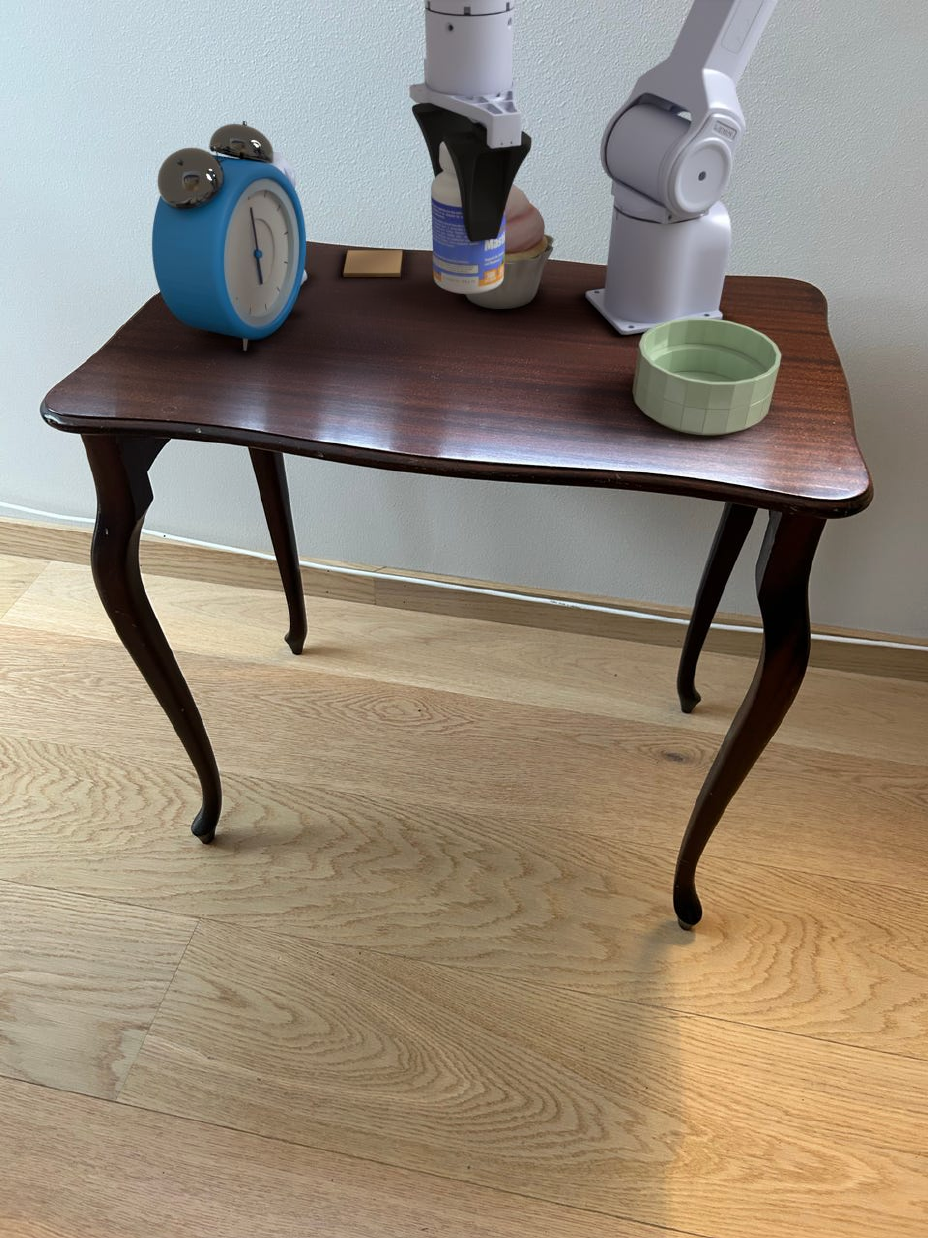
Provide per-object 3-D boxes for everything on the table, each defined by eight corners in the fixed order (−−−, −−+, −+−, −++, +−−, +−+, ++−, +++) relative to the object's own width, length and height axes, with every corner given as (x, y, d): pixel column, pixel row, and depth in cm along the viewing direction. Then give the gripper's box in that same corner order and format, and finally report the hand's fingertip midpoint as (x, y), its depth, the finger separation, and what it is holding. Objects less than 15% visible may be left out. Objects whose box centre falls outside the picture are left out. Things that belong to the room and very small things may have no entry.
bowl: (724, 363, 76) (735, 309, 73) (793, 427, 69) (808, 371, 66) (610, 383, 74) (617, 328, 70) (669, 451, 67) (679, 393, 64)
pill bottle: (497, 299, 70) (501, 159, 64) (426, 292, 71) (422, 154, 65) (509, 268, 74) (513, 134, 68) (441, 263, 75) (438, 129, 68)
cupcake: (440, 276, 88) (438, 161, 81) (540, 270, 89) (546, 156, 82) (454, 322, 81) (453, 201, 74) (561, 315, 82) (570, 195, 75)
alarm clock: (235, 371, 75) (197, 171, 65) (169, 356, 77) (122, 159, 66) (316, 301, 84) (295, 115, 73) (256, 289, 85) (226, 106, 75)
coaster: (402, 253, 92) (402, 249, 91) (400, 276, 88) (400, 272, 88) (348, 254, 92) (347, 250, 91) (343, 277, 88) (343, 272, 87)
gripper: (379, -12, 65) (389, 195, 74) (444, 36, 55) (447, 269, 64) (477, -19, 66) (475, 185, 76) (558, 27, 56) (544, 255, 66)
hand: (468, 223), depth 70 cm, fingers closed on pill bottle, 5 cm apart
